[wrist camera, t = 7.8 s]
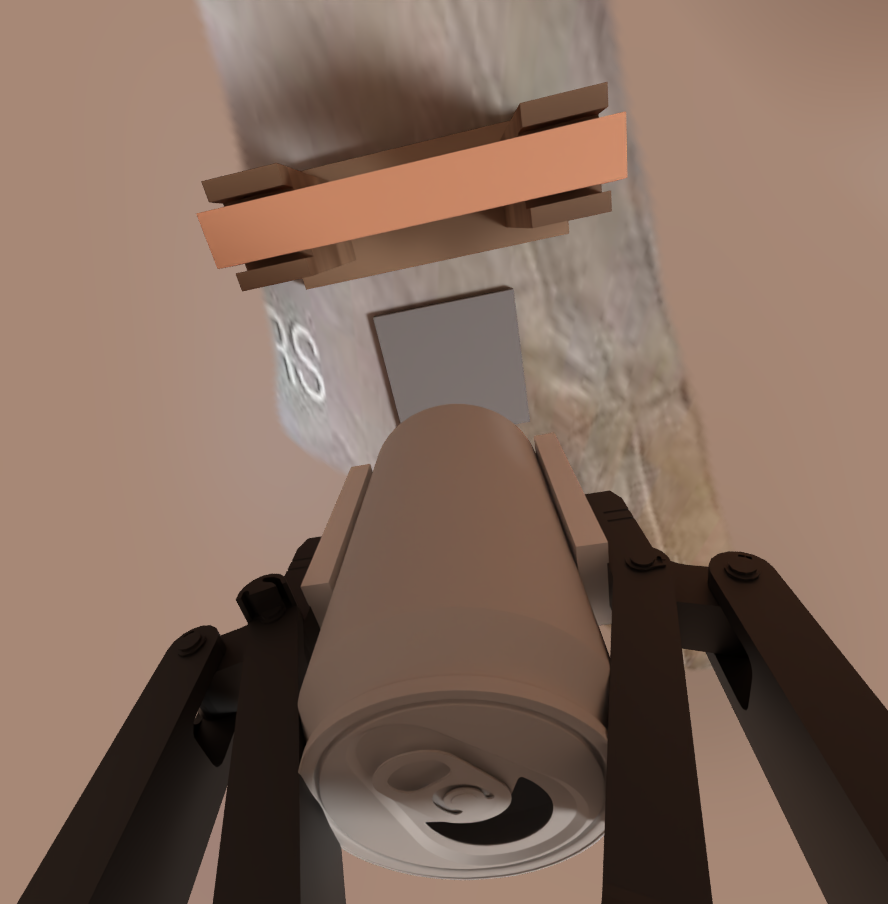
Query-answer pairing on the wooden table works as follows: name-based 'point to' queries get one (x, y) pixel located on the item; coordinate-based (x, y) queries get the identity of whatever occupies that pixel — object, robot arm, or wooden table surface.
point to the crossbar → (420, 192)
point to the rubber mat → (456, 356)
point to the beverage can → (458, 664)
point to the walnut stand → (432, 237)
